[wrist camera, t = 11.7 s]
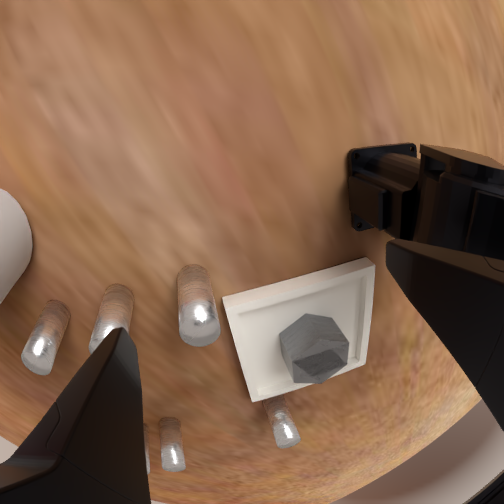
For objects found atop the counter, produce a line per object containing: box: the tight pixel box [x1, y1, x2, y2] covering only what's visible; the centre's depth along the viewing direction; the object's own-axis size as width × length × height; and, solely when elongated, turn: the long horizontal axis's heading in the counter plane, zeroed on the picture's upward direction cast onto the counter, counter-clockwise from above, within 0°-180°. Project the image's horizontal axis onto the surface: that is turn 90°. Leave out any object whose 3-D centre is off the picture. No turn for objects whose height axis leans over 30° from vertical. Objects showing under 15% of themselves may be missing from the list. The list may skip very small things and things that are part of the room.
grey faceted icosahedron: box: [279, 313, 349, 384], centre depth 25 cm, size 5×6×4 cm
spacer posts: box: [21, 264, 301, 474], centre depth 23 cm, size 18×20×6 cm
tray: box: [222, 257, 375, 402], centre depth 27 cm, size 13×13×2 cm
